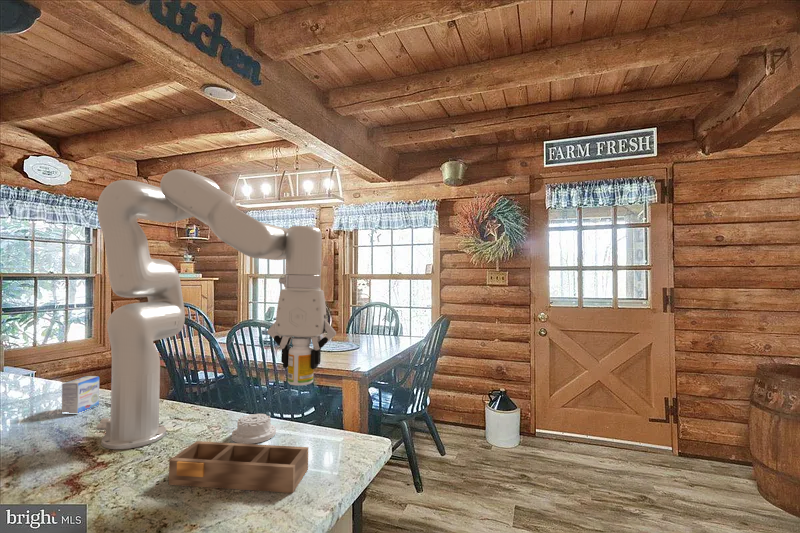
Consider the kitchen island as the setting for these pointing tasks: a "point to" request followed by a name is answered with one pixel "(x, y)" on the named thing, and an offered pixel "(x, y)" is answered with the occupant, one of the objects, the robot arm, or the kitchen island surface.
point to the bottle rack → (239, 466)
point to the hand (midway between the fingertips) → (300, 366)
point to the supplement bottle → (300, 362)
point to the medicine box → (80, 394)
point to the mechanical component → (253, 429)
